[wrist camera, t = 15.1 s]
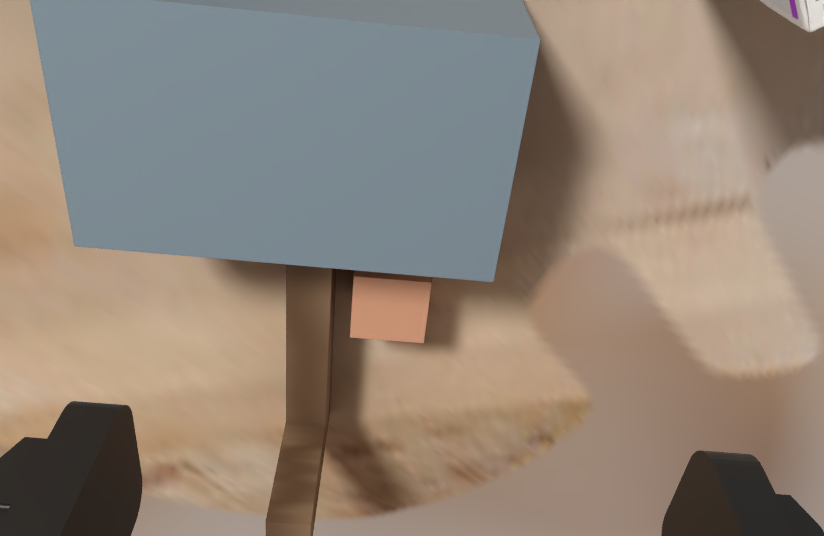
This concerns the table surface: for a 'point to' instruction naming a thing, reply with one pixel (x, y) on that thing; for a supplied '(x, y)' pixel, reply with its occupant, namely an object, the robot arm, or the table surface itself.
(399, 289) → the cube
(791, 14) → the syrup box
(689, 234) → the table surface
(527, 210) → the table surface
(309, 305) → the bent wooden plank
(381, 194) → the cubby
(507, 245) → the table surface
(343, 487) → the table surface
